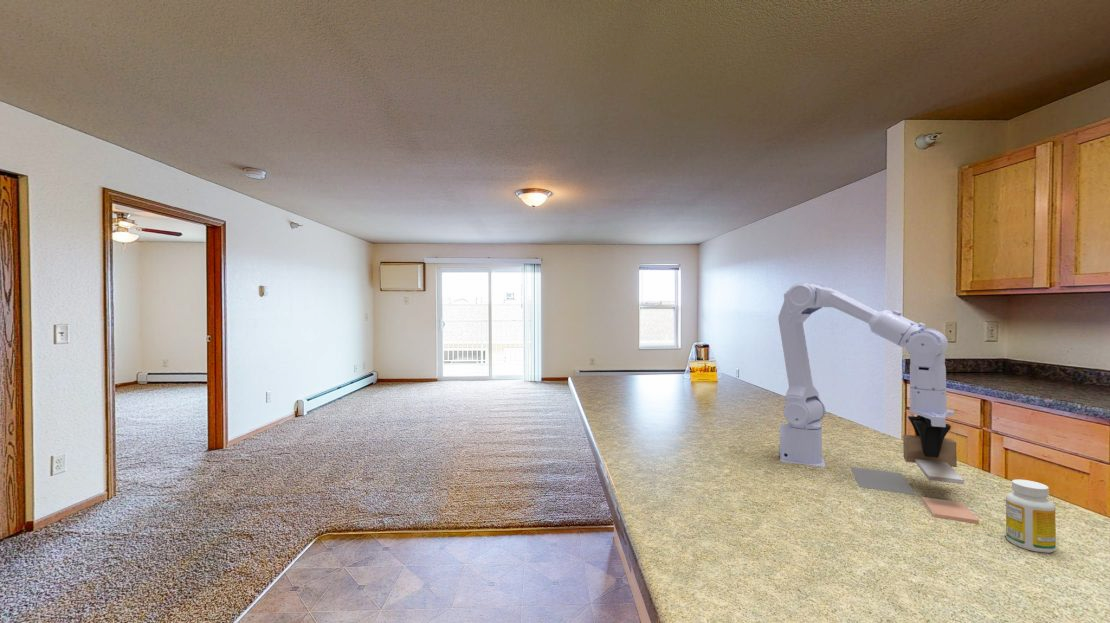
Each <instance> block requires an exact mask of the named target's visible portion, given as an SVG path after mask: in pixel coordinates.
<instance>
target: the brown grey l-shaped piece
mask: <svg viewBox="0 0 1110 623" xmlns="http://www.w3.org/2000/svg"><path fill="white" fill-rule="evenodd" d="M902 441H903V442H902V444H903V459H904V461H905V462H906V463H914V464H916V466H917V467H918V468H919V469H920V471H921V472H922V474H923V475H924V476H925V478H927V480H928V481H932V482H933V481H934V482H942V483H949V484H950V483H951V484H956V485H958V484H959V485H965V479H963V477H962V476H961V475H960V474H959V473H958V472H957V471H956V470H955V469H954V468H958V467H957V466H958V465H957V461H958V460H957V459H958V457H957V456H958V455H957V441H956V440H955V439H953V438H947V437H945V438H944V440H943V443H942V446H941V450H940V454H939V457H938V458H936V457H926V456H925V455H924V453H923V449H922V444H921V439H920V436H916V435H910V434H903V436H902Z"/></svg>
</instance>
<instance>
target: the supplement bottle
mask: <svg viewBox="0 0 1110 623" xmlns="http://www.w3.org/2000/svg"><path fill="white" fill-rule="evenodd" d="M1011 489H1012V491H1010V492H1008V493H1007V494H1006V496H1005V536H1006V539H1007V540H1008V541H1009V542H1010V544H1013V545H1015V546H1017V547H1018V548H1022V549H1024V550H1028V551H1032V552H1036V553H1045V554H1048V553H1054V552H1055V551H1056V548H1057V544H1056V543H1057V542H1056V540H1057V536H1056V533H1057V532H1056V531H1057V530H1056V528H1057V527H1056V524H1057V523H1056V505H1055V503H1053V501H1052V500H1050V499H1049V498H1048V497H1049V495H1050V490H1049V489H1050V488H1049V486H1048V485H1046V484H1043V483H1041V482H1037V481H1032V480H1028V479H1021V478H1019V479H1012V480H1011Z"/></svg>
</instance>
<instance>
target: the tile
mask: <svg viewBox="0 0 1110 623" xmlns="http://www.w3.org/2000/svg"><path fill="white" fill-rule="evenodd" d="M921 501H922V503H923V505H925V507H926V508H927V510H928V512H929V513H930V514H931V516H932V517H933V518H936V519H944V520H951V521H955V522H956V521H957V522H963V523H969V524H976V525H979V524H980V523H979V522H980V520H979V519H978V518H977V517H976V515H974V513H973V512H972V511H971V510H970V509H969V508H968V507H967V505H966V504H965V503H964V502H961V501H954V500H947V499H946V500H945V499H941V498H940V499H938V498H932V497H924V496H922V497H921Z"/></svg>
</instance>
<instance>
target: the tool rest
mask: <svg viewBox="0 0 1110 623" xmlns="http://www.w3.org/2000/svg"><path fill="white" fill-rule="evenodd" d="M850 469H851V471H852V474H853V475H854V479H855V481H856V483H857V486H858V488H862V489H863V488H864V489H871V490H878V491H887V492H893V493H900V494H907V495H915V496H917V494H916V492H915V491H914V489H913V488H912V487H911V485H910V484H909V482H908V481H907V479H906V478H905V476H904V475H903V473H901V472H895V471H887V470H880V469H872V468H871V469H869V468H861V467H853V466H850Z"/></svg>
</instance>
